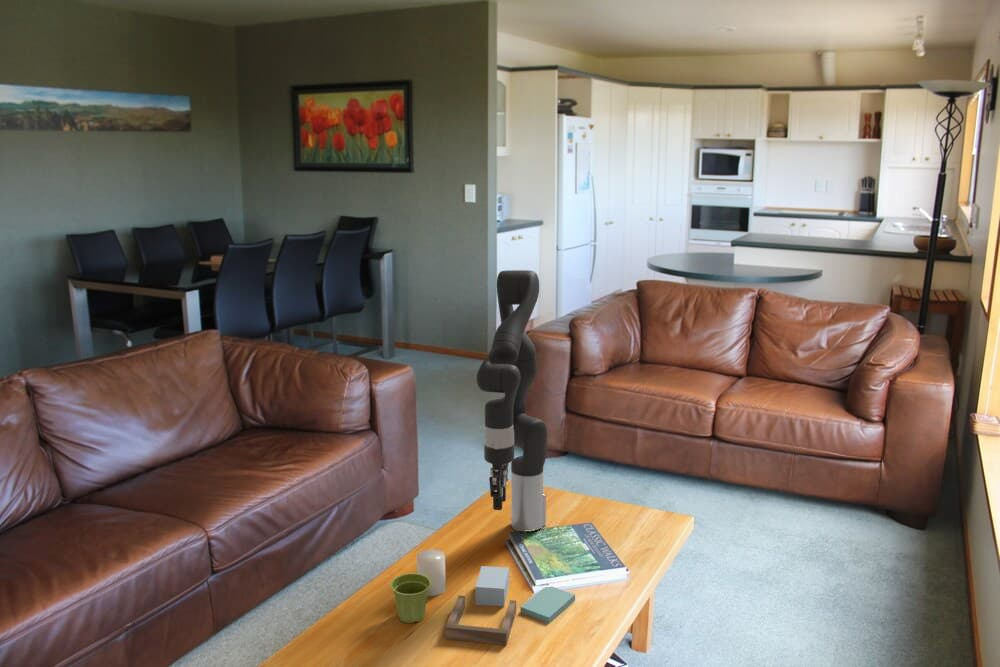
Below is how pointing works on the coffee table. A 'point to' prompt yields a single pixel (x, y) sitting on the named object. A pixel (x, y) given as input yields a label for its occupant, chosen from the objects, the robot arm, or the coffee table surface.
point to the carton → (492, 586)
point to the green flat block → (547, 604)
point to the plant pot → (411, 596)
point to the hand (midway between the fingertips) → (499, 504)
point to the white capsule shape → (433, 570)
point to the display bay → (478, 633)
